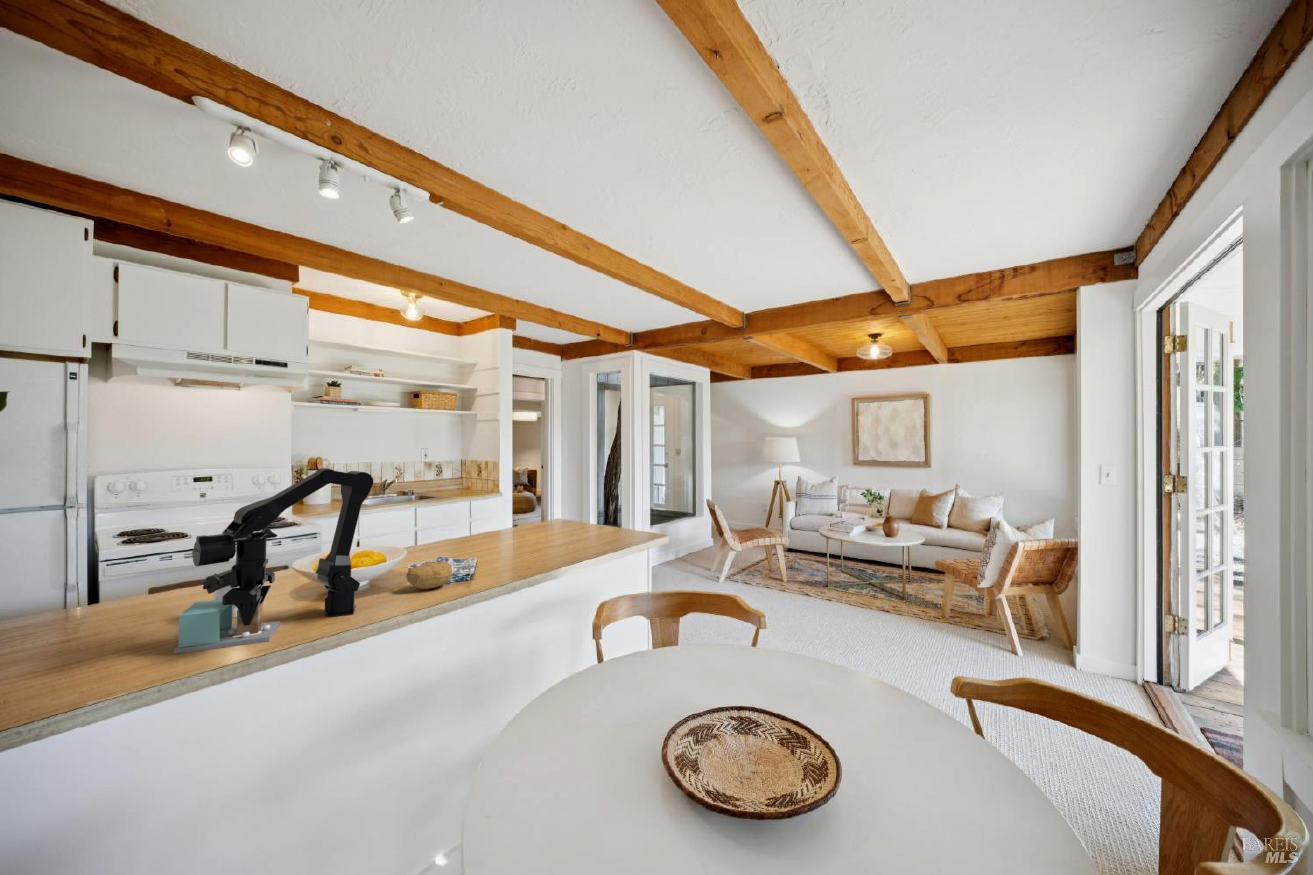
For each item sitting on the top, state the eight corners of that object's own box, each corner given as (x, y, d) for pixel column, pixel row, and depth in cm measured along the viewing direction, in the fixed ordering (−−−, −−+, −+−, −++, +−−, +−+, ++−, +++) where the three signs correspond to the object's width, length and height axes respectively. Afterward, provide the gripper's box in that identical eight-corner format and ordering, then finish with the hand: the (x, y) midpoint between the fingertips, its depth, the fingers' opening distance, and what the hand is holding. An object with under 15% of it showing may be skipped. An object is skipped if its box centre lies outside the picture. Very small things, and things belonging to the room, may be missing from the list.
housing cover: (232, 627, 122) (232, 598, 122) (218, 642, 113) (219, 611, 113) (195, 631, 119) (195, 601, 119) (178, 647, 110) (179, 615, 110)
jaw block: (261, 627, 122) (262, 603, 122) (257, 633, 119) (258, 608, 119) (241, 629, 121) (242, 605, 121) (236, 635, 117) (237, 610, 117)
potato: (401, 588, 159) (402, 564, 158) (445, 580, 168) (446, 557, 168) (411, 596, 151) (411, 570, 151) (456, 587, 161) (457, 563, 161)
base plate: (279, 624, 127) (279, 617, 127) (269, 641, 117) (269, 632, 117) (193, 635, 119) (193, 627, 119) (174, 653, 109) (174, 644, 109)
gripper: (221, 552, 124) (220, 613, 124) (192, 571, 108) (191, 641, 108) (275, 548, 129) (274, 607, 129) (256, 566, 113) (255, 633, 113)
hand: (249, 621), depth 120 cm, fingers open, 5 cm apart
